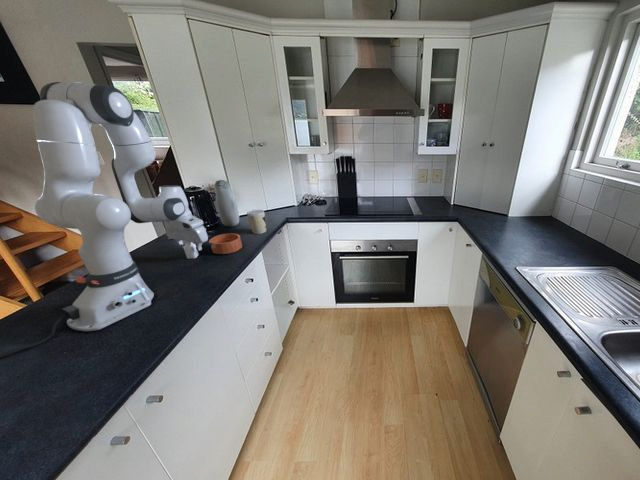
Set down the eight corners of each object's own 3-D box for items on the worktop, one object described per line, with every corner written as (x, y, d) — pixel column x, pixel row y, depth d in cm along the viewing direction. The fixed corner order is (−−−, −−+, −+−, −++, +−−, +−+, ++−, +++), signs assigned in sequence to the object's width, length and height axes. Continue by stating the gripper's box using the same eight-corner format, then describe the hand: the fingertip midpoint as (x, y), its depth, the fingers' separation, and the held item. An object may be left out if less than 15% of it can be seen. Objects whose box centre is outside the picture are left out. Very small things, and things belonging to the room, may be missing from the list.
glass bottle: (219, 228, 165) (206, 181, 152) (229, 223, 174) (218, 178, 161) (234, 229, 164) (222, 182, 151) (244, 223, 173) (234, 178, 160)
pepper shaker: (190, 255, 131) (184, 237, 127) (199, 255, 132) (193, 236, 128) (186, 259, 128) (180, 240, 124) (196, 258, 129) (190, 240, 124)
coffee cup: (269, 232, 160) (266, 212, 155) (252, 235, 155) (248, 215, 150) (265, 227, 167) (262, 208, 161) (249, 230, 162) (245, 211, 157)
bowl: (229, 256, 131) (225, 245, 128) (205, 253, 134) (202, 242, 131) (248, 245, 143) (246, 234, 140) (226, 242, 146) (224, 232, 143)
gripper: (157, 221, 122) (168, 248, 128) (193, 225, 117) (203, 254, 123) (170, 216, 127) (180, 243, 133) (205, 221, 123) (214, 248, 129)
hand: (191, 248), depth 128 cm, fingers open, 8 cm apart
